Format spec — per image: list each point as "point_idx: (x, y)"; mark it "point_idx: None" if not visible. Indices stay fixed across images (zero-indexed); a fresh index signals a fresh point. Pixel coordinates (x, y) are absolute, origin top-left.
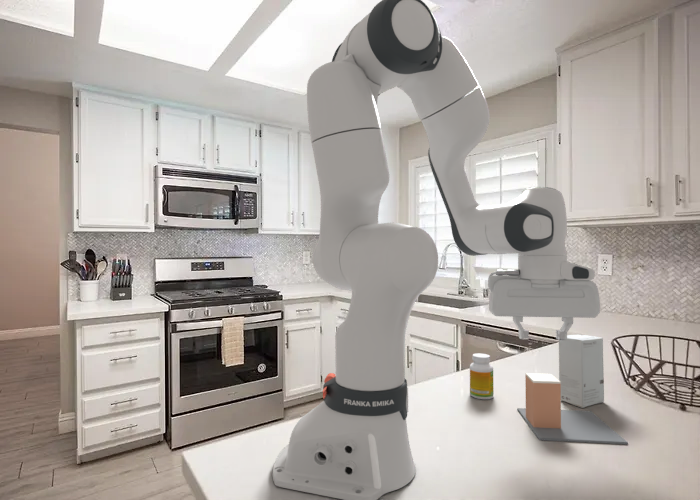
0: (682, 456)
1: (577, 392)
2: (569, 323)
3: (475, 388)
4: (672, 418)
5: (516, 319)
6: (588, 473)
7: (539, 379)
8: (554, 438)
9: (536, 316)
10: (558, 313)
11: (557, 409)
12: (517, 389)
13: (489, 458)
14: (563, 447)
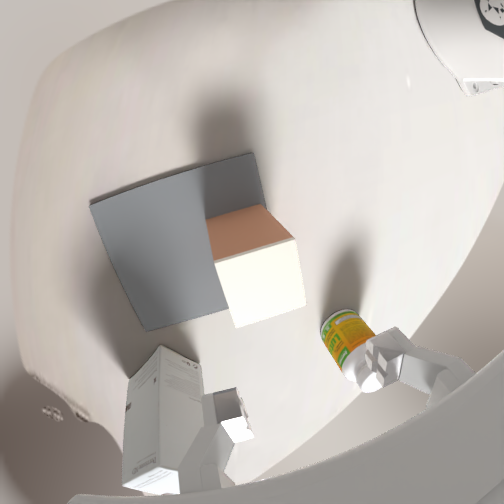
0: (23, 196)
1: (169, 367)
2: (196, 463)
3: (361, 319)
4: (39, 347)
5: (465, 368)
6: (179, 49)
7: (275, 259)
8: (223, 160)
9: (402, 423)
10: (277, 495)
11: (215, 230)
12: (272, 380)
13: (340, 57)
14: (208, 136)
